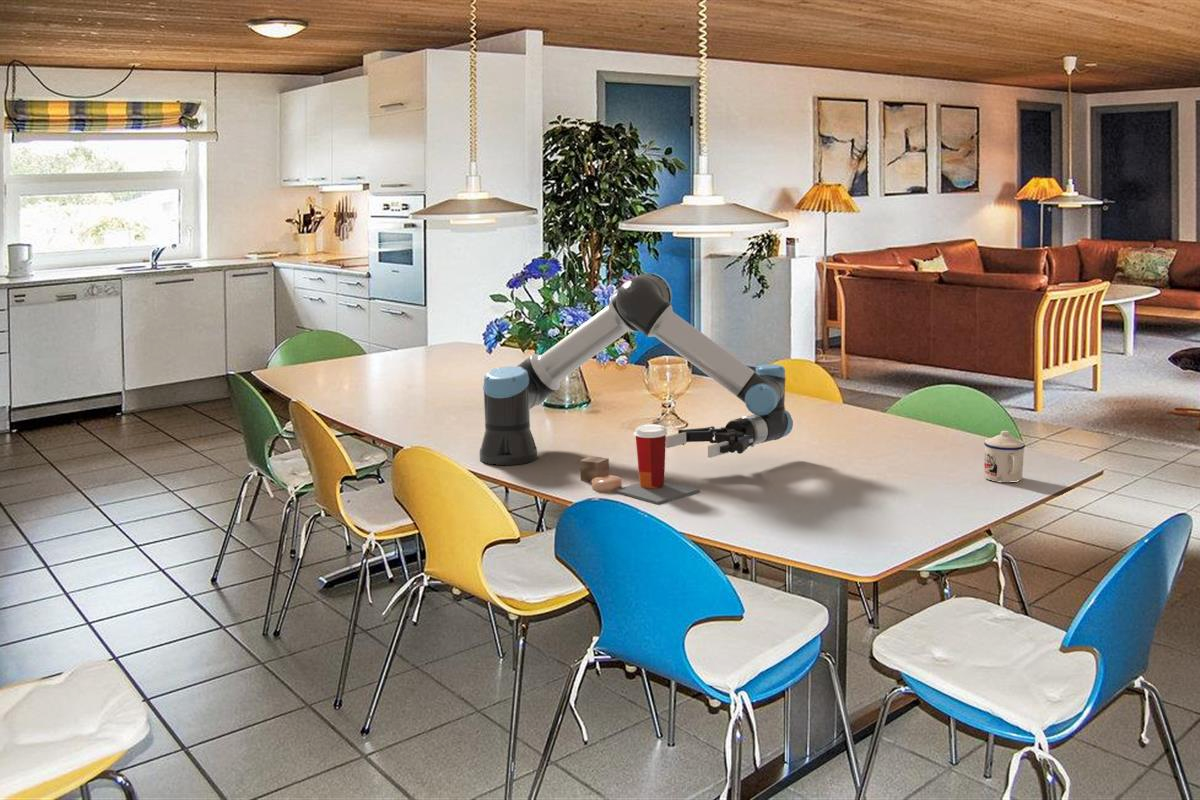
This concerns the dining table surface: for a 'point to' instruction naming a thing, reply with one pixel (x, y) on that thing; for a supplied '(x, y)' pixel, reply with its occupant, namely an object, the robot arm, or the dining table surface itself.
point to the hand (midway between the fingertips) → (687, 447)
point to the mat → (657, 492)
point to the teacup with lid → (1003, 458)
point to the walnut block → (593, 467)
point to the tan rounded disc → (606, 483)
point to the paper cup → (651, 455)
